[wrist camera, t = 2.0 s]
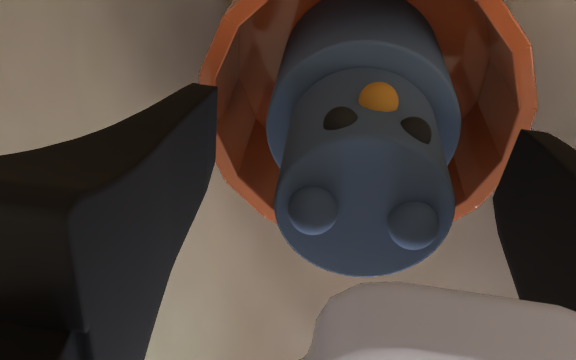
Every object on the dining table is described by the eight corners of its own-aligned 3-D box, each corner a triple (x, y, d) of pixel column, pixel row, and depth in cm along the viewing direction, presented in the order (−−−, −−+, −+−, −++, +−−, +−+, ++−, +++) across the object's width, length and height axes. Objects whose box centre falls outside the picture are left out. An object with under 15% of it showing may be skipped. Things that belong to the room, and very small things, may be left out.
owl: (458, 0, 15) (535, 144, 9) (418, 143, 18) (453, 333, 12) (292, -23, 16) (246, 103, 9) (276, 123, 18) (233, 300, 12)
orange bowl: (562, 4, 16) (617, 56, 12) (401, 206, 20) (410, 283, 17) (301, -148, 14) (285, -133, 11) (191, 107, 19) (157, 171, 16)
